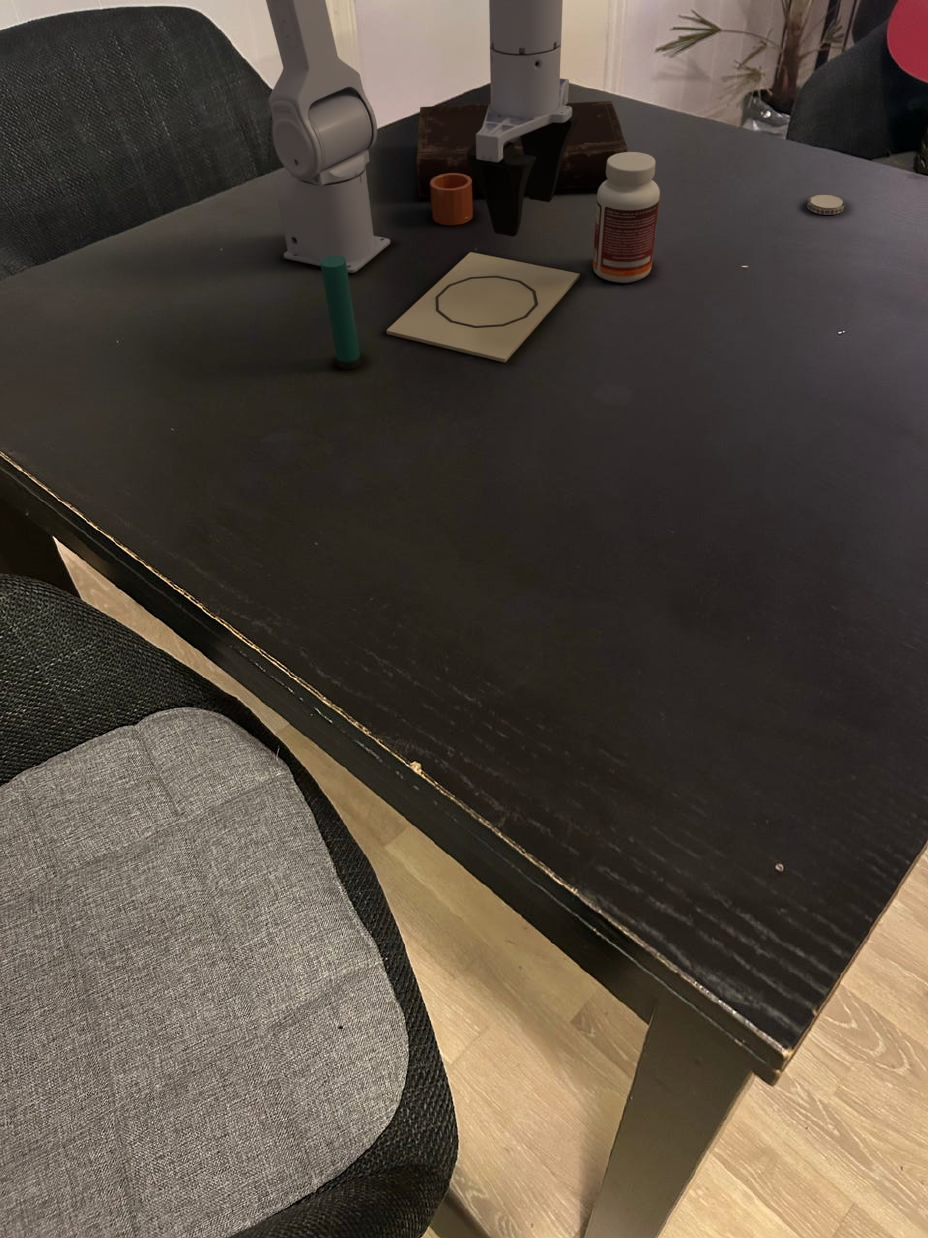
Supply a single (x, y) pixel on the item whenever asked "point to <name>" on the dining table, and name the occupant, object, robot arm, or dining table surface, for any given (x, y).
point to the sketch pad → (484, 306)
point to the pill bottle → (626, 218)
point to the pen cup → (451, 199)
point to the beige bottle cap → (825, 204)
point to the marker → (341, 311)
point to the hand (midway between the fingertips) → (523, 215)
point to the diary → (516, 144)
